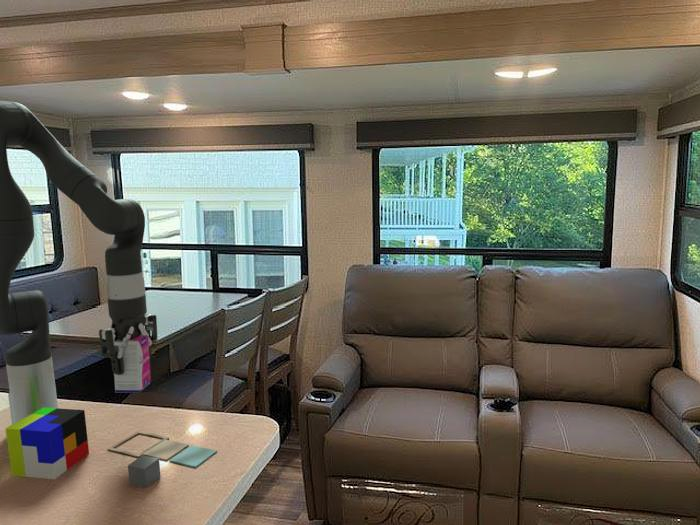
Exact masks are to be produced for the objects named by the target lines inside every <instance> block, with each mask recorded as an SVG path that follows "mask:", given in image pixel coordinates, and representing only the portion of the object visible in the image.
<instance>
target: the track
mask: <svg viewBox="0 0 700 525" xmlns="http://www.w3.org/2000/svg"><path fill="white" fill-rule="evenodd" d="M139 435H143V436H147V437H152V438H156V439H161V440H159V441H157V442H156V443H155V444H153V445H152V446H150V447H147V449H145V450H143V451H142V452H139V453H135V452H130V451H127V450H124V449H123V450H122V449H119V448H117V447H119V446H121V445H122V444H124V443H126V442H128V441H129V440H131V439H133V438H134V437H136V436H139ZM107 451H110V452H114V453H117V452H118V454H121V453H122V454H123V455H125V454H126V455H127V456H129V457H135V458H137V459H138V458H139V457H141V456H142V455H143V456H149V457H154V458H159V460H161V461H165V462H167V461H168V460H169V462H170V463H174V464H177V465H178V464H179V465H182V466H187V467H191V468H195V469H197V467H199V466H200V465H202V464H203V463H204V462H206V461H207V460H209V459H210V458H211V457H212V456H214V455H215V454H216V453H217V452H218V451H217V450H215V449H211V448H205V447H202V446H198V445H193V444H192V445H189V444H187V443H183V442H178V441H173V440H170V437H169V436H165V435H159V434H156V433H151V432H150V433H149V432H146V431H142V430H138V431H136V432H135V433H133V434H131V435H128V437H126V438H124V439H122V440H120V441H119V442H117V443H115V444H114V445H112V446H110V447H108V448H107Z"/></svg>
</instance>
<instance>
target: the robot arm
mask: <svg viewBox="0 0 700 525" xmlns="http://www.w3.org/2000/svg"><path fill="white" fill-rule="evenodd" d="M14 146H15V147H16V146H19V147H21V148H23V149H25V150H26V151H28V152H30V153H32V154H33V155H34V156H35V157H36V158H38V159H39V161H40V162H41V163H42V165H43V167H44V168H43V169H44V170H45V172H46V175H47V177H48V178H49V180H50V182H51V183H52V184H53V185H54V186H55V187H56V189H58V190H59V191H60V192H62V194H64V195H65V196H66V197H68V198H69V199H70V200H71V201H73V202H74V203H75V204H76V205H77V206H78V207H79V208H80V210H81V211H82V213H83V214H84V215H85V217H86V218H87V219H88V220H89V222H90V223H91V224H92V226H94V227H95V228H96V229H97V230H98V231H100V232H102V233H104V234H106V235H111V236H114V239H113V242H112V244H111V245H109V246H108V247H107V248H106V249H105V252H104V261H105V270H106V271H105V272H106V279H105V280H106V283H105V287H106V298H107V309H108V317H109V318H110V319H111V326H110V327H108V328H106V329H105V328H100V329H99V330H98V336H99V342H100V344H99V345H100V351H101V357H102V358H103V357H104V358H110V360H111V371H112V373H113V375H114V374H117V375H122V374H124V365H123V357H122V355H123V352H124V349H125V348H126V347H127V346H128V342H129V340H130V339H133V338H136V337H139V336H140V335H142V336H145V335H148V341H149V358H150V360H151V359H152V351H151V346H152V344H153V342H156V341H157V340H158V325H157V315H156V314H150V313H149V314H148V313H147V311H148V309H147V298H146V297H147V296H146V294H147V293H146V286H145V284H146V283H145V279H144V278H145V277H144V274H143V264H142V247H143V244H144V243H143V241H144V236H145V227H146V216H145V213H144V210H143V208H142V206H141V204H140V203H138V202H137V201H136V200H134V199H132V198H131V199H130V198H122V199H121V198H120V199H119V198H118V199H113V198H112V197H110V196H109V195H108V193H107V192H108V186H107V185H106V183H105V182H104V181H103V180H102V179H101V178H100V177H99V176H98V175H96V174H95V173H94V172H92V170H90V169H89V168H87V167H86V166H85V165H84V164H82V163H81V161H79V160H77V159H76V158H75V157H74V156H73V155H72V154H71V153H70V152H69V151H67V149H66V148H65V147H64V146H63V145H62V144H61V143H60V142H59V140H57V139H56V137H55V136H54V135H53V134H52V133H51V132H50V131H49V130H48V129H47V128H46V127H45V125H44V124H43V123H42V122H41V121H40V120H39V118H37V116H36V115H34V113H33V112H32V111H31V110H30V109H29V108H27V106H25V105H24V104H21V103H19V102H16V101H12V100H0V336H9V335H15V334H21V333H27V332H31V333H30V334H29V335H28V337H26V338H25V339H24V340H22V341H21V342H19V343H17V344H15V345H13V346H11V347H10V348H8V349H7V350H6V351H5V355H4V358H5V360H4V361H5V365H6V373H7V381H8V388H9V392H8V395H7V396H8V397H7V398H8V402H9V403H8V404H9V409H10V410H9V411H10V418H11V419H10V420H11V425H13V424H15V423H16V422H18V421H20V420H22V419H24V418H25V417H27V416H29V415H31V414H33V413H35V412H36V411H38V410H40V409H42V408H44V407H45V408H59V407H58V398H57V395H58V394H57V387H56V381H55V380H56V379H55V372H54V364H53V357H52V356H53V355H52V346H51V335H50V318H49V317H50V316H49V306H48V300H47V298H46V295H45V294H44V292H43V291H41V290H36V289H35V290H28V291H27V290H26V291H20V292H19V291H18V292H11V293H9V292H10V291H9V290H10V286H11V281H12V278H13V276H14V274H15V272H16V269H17V268H18V266H19V265H20V263H21V261H22V260H23V259H24V257H25V255H26V254H27V252H28V251H29V249H30V247H31V245H32V243H33V241H34V239H35V225H34V214H33V213H34V212H33V208H32V205H31V203H30V200H29V199H28V197H27V196H26V194H25V193H24V192H23V190H22V189H21V188H20V186H19V185H18V183H17V181H16V180H15V179H14V177H13V175H12V172H11V170H10V166H9V161H8V160H9V158H8V151H7V147H14ZM116 340H121V341H122V342H121V343H119V342H115V341H116ZM117 346H118V347H119V348H118V351H117V352H116V347H117Z"/></svg>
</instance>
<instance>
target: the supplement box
mask: <svg viewBox="0 0 700 525" xmlns="http://www.w3.org/2000/svg"><path fill="white" fill-rule="evenodd" d="M115 342H119V343H121V342H122V341H121V340H116V341H115ZM118 348H119V347H118V346H117V347H116V352H117V351H118ZM122 357H123V365H124V374H122V375H117V374H114V373H113V377H114V393H117V394H118V393H119V394H121V393H122V394H124V393H127V394H128V393H129V394H131V393H132V394H133V393H139V394H140V393H141V392H142V391H143V390H144V389H145V388H146V387H148V386H149V385H151V383H152V376H151V363H150V362H151V359H150V358H149V341H148V335H145V336H142V335H140V336H139V337H136V338H133V339H130V340H129V342H128V346H127V347H126V348H125V349H124V352H123V355H122Z"/></svg>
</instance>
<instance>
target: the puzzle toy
mask: <svg viewBox="0 0 700 525" xmlns="http://www.w3.org/2000/svg"><path fill="white" fill-rule="evenodd" d="M5 435H6V442H7V450H8V459H9V464H10V465H9V466H10V474H11V475H12V476H17V477H28V478H37V479H46V480H47V479H48V480H56V479H58V478H59V477H60V476H62V475H63V474H64V473H65V472H67V471H68V470H69V469H71V468H73V466H75V465H77V464H78V463H79V462H80V461H82V460H83V459H84V458H85V456H86V457H87V456H88V455H90V449H89V447H90V446H89V441H88V440H89V439H88V430H87V421H86V413H85V410H84V409H73V408H59V407H58V408H45V407H44V408H42V409H40V410H38V411H36V412H35V413H33V414H31V415H29V416H27V417H25V418H24V419H22V420H20V421H18V422H16V423H15V424H13V425H12V424H11V425H9V426H7V427H6V428H5ZM82 458H83V459H82ZM81 459H82V460H81ZM78 461H79V462H78ZM77 462H78V463H77ZM74 464H75V465H74ZM70 467H71V468H70Z"/></svg>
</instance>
